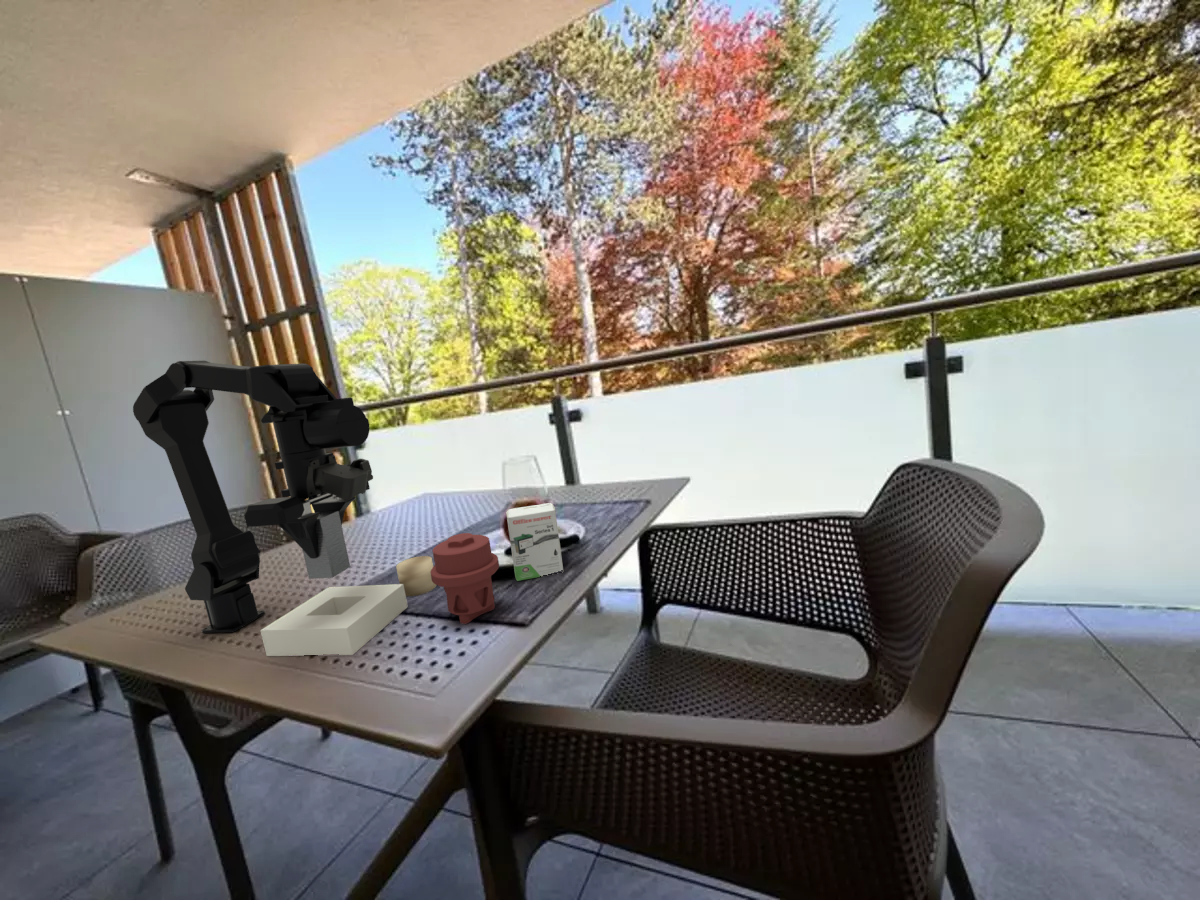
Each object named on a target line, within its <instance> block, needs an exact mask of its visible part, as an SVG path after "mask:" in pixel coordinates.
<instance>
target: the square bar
mask: <svg viewBox="0 0 1200 900" xmlns="http://www.w3.org/2000/svg"><path fill="white" fill-rule="evenodd" d="M316 513H317V512H316ZM314 525H315V532H316V538H317V544H318V555H319V556H318V558H314V559H311V558H310V557H309V556H308V555H307V554H306V553H305V552H304V550H303V549H302V548H301V549H302V553H303V558H304V562H305V567H306V572H307V576H308V579H309V580H311V579H313V580H314V579H315V580H316V579H330V578H331V579H333V578H335V577H336V576H338V575H340V574H341V573H343V572H344V571H346V570H347V569H349V568H351V563H350V559H349V554H348V550H347V544H346V540H345V539H346V538H345V535H344V531H343V530H344V529H343V524H342V525H341V520H340V516H339V511H329V512H320V514H319V516H318V518H317V519H316V521H315V523H314Z"/></svg>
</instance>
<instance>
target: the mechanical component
mask: <svg viewBox="0 0 1200 900" xmlns="http://www.w3.org/2000/svg"><path fill="white" fill-rule="evenodd" d="M490 542H491V541H490V538H489V537H488V536H486V535H483V534H473V533H470V532H465V533H458V534H454V535H451V536H450V537H448V538H447V539H446V540H444V541H442V542H440V543H438V544H437V545H435V547H433V549H432V555H433V561H434V565H433V568H432V569H431V572H430V573H431V579H432V582H433V583H434V584H436V586H439V587H441V588H443V589H444V592H445V594H446V605H447V610H448V612H449V613H450V614H453V615H454V616H455V615H456V616H458V618H459V623H460V624H462V625H466V624H470V623H471V622H472V621H474V619H476V618H477V617H480V616H481V615H483V614H486V613H488V612H492V611H493V610H495V608H496V606H495V605H496V604H495V595H494V589H493V582H492V576H493V575H494V574H496V572H497V571H498V570H499V568H500V562H499V557H498V555H497V554H495V553H493V552H492V548H491V543H490Z"/></svg>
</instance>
